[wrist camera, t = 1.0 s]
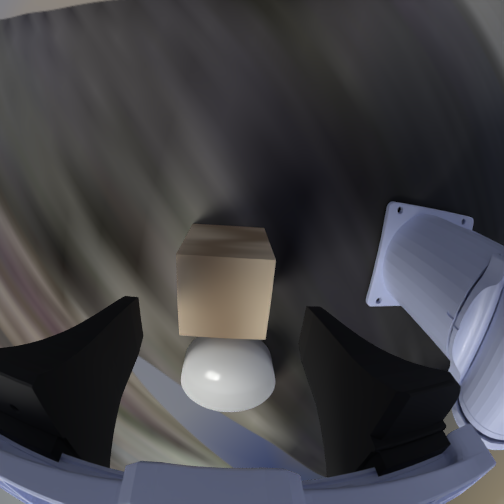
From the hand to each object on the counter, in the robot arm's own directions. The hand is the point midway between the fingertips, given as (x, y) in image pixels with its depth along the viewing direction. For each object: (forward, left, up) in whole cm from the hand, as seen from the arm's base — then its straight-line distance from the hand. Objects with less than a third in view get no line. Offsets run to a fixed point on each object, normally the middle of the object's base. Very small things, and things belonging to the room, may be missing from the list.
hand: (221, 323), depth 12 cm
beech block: (0, 0, -7) cm, 7 cm away
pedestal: (-1, +9, -7) cm, 12 cm away
